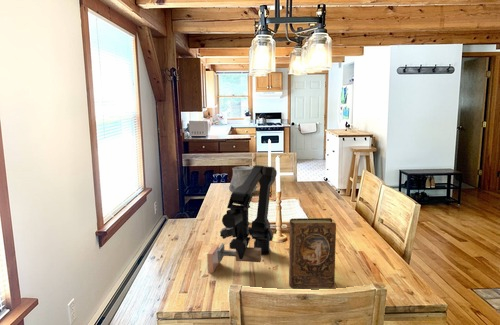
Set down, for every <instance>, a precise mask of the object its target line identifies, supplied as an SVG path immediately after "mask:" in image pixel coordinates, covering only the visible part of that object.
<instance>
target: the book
mask: <svg viewBox="0 0 500 325" xmlns="http://www.w3.org/2000/svg"><path fill="white" fill-rule="evenodd" d="M336 235H337V223H336V222H334V221H333V218H331V217H319V218H318V217H317V218H316V217H312V218H311V217H310V218H309V217H308V218H307V217H306V218H303V217H302V218H297V217H296V218H290V219H289V244H288V245H289V248H288V252H289V253H288V254H289V255H288V256H289V259H288V260H289V264H288V265H289V267H288V269H289V270H288V287H290V288H291V289H320V288H321V289H322V288H323V289H325V288H326V289H327V288H333V287H335V281H336V280H335V278H336V242H337V241H336V240H337V239H336V237H337V236H336Z"/></svg>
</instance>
